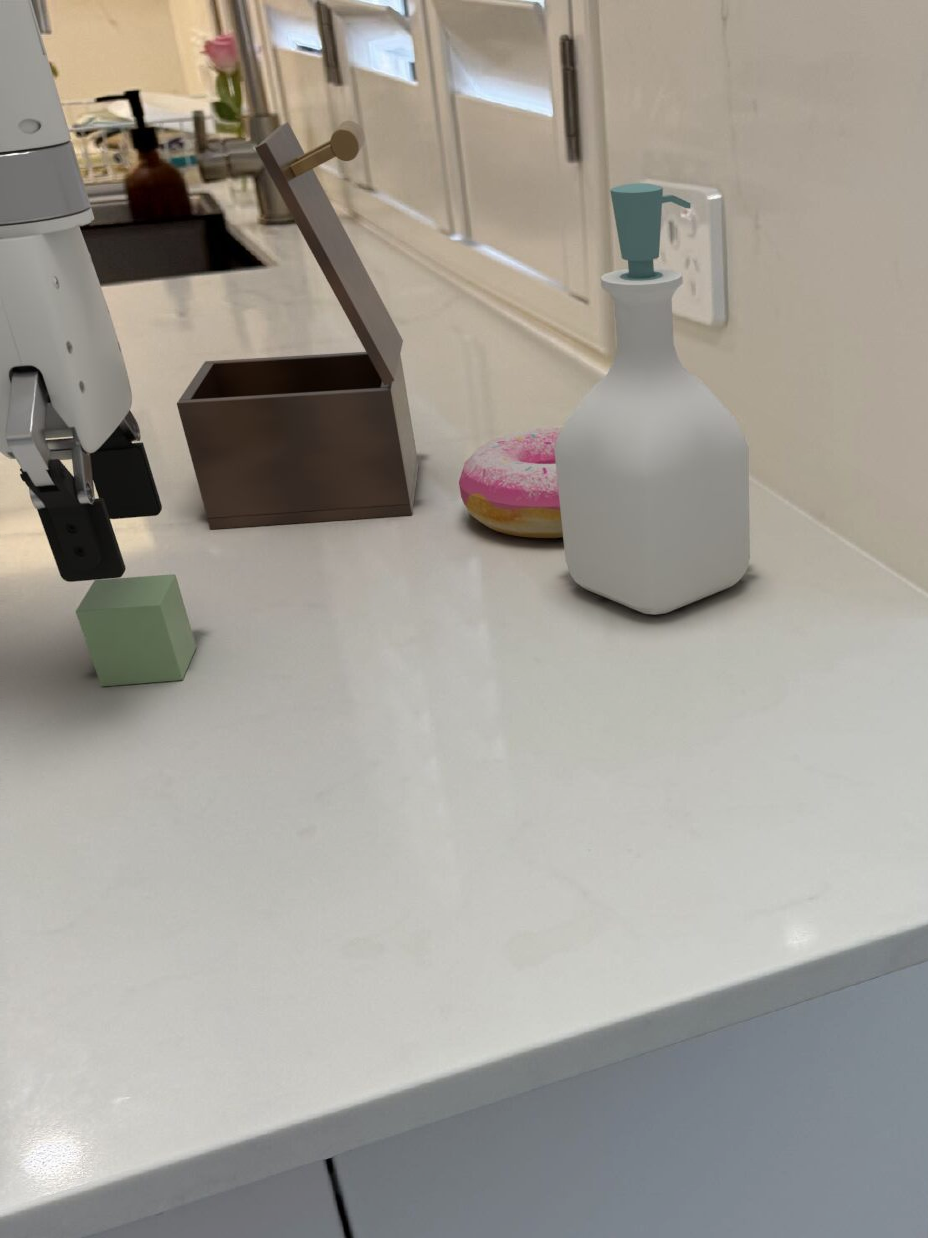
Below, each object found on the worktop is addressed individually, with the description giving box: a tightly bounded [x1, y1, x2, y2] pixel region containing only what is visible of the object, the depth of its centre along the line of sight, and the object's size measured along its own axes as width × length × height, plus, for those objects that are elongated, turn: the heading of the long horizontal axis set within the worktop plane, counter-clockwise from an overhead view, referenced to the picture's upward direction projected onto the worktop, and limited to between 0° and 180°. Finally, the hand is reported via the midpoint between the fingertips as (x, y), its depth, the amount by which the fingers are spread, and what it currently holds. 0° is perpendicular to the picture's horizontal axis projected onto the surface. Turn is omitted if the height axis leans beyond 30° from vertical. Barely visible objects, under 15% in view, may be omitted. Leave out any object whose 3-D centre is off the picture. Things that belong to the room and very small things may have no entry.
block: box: [75, 573, 197, 687], centre depth 77 cm, size 5×5×5 cm
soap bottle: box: [555, 182, 751, 616], centre depth 79 cm, size 10×10×23 cm
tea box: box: [176, 351, 420, 530], centre depth 99 cm, size 15×12×9 cm
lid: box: [254, 120, 404, 385], centre depth 91 cm, size 15×12×6 cm
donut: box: [458, 426, 563, 539], centre depth 95 cm, size 14×13×5 cm
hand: (116, 545), depth 73 cm, fingers open, 9 cm apart
